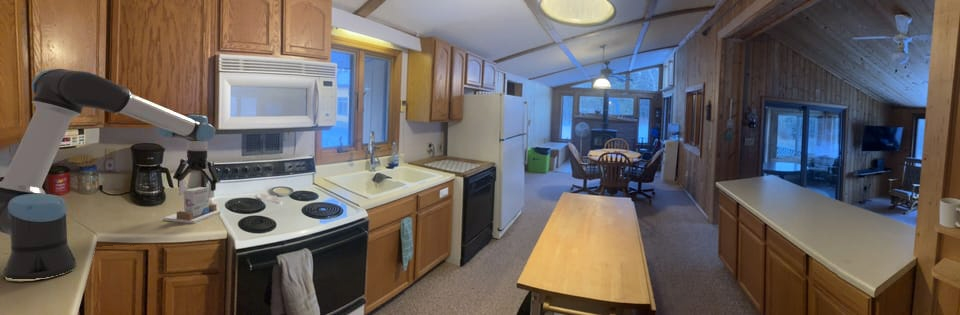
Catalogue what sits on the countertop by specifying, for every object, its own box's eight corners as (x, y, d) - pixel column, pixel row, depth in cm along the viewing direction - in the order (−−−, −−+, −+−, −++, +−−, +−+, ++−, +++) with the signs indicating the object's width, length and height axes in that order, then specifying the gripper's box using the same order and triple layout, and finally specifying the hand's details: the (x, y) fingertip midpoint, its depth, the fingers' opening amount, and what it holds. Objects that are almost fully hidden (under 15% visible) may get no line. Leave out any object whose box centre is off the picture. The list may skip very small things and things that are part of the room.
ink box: (200, 210, 193) (200, 186, 191) (209, 212, 192) (209, 187, 190) (183, 215, 185) (183, 189, 183) (193, 217, 184) (192, 191, 182)
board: (194, 223, 180) (194, 214, 179) (163, 220, 180) (163, 211, 180) (220, 213, 197) (220, 204, 196) (192, 210, 197) (192, 201, 197)
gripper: (229, 151, 188) (228, 197, 190) (176, 146, 189) (176, 191, 191) (218, 153, 180) (217, 200, 183) (163, 147, 181) (163, 194, 184)
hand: (196, 196), depth 187 cm, fingers open, 13 cm apart
